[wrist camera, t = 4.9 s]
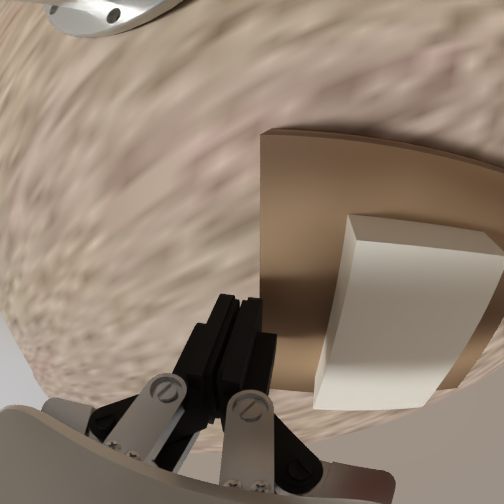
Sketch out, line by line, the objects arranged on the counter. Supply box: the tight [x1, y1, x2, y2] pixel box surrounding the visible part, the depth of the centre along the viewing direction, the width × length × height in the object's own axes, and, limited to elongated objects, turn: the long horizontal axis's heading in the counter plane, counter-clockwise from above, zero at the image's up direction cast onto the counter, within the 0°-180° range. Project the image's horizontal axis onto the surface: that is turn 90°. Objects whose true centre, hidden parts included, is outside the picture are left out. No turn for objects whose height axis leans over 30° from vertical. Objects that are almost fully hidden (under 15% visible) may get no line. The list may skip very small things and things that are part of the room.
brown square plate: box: [260, 129, 504, 392], centre depth 12 cm, size 13×13×3 cm
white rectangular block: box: [313, 214, 504, 410], centre depth 10 cm, size 9×6×2 cm, turn 1°
